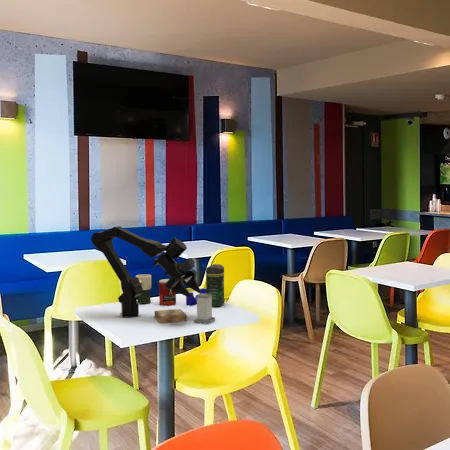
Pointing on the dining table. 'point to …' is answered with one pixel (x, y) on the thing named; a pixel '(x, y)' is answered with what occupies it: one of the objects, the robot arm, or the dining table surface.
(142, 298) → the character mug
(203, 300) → the steel housing
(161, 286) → the canned food
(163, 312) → the light tan tray
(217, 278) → the coffee jar
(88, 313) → the dining table surface
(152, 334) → the dining table surface
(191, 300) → the cable clip
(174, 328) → the dining table surface
